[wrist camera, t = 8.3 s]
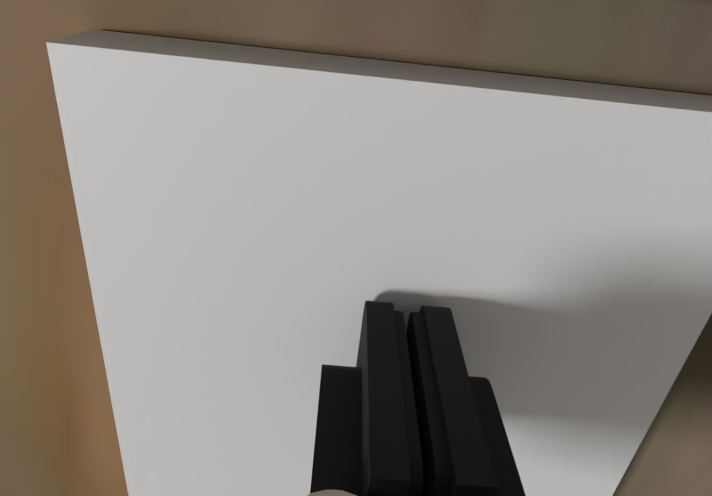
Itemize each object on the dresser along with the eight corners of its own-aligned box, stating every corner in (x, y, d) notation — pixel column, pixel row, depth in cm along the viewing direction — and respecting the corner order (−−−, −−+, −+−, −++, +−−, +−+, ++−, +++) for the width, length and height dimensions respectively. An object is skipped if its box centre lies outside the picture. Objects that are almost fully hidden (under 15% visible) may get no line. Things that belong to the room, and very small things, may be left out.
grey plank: (91, 28, 9) (45, 41, 8) (752, 100, 10) (815, 123, 8) (164, 555, 17) (148, 606, 16) (526, 578, 18) (539, 628, 16)
